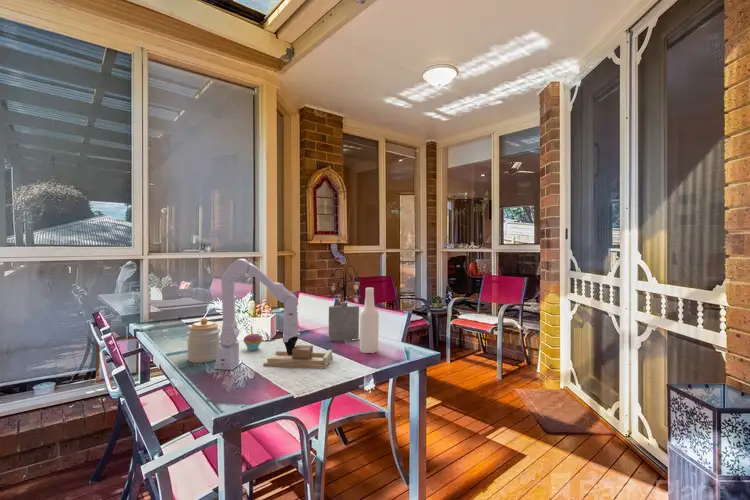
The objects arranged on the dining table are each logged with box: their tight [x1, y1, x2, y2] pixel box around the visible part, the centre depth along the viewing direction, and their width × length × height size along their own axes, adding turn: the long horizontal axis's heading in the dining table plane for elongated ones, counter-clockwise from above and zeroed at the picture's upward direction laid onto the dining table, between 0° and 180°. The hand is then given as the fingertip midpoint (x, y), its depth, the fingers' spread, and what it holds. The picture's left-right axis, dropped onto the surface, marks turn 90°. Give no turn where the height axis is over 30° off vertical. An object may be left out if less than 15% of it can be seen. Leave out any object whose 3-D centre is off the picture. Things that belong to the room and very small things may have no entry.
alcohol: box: [359, 286, 380, 355], centre depth 174 cm, size 9×9×30 cm
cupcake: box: [243, 325, 263, 352], centre depth 174 cm, size 9×8×12 cm
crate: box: [292, 344, 314, 360], centre depth 157 cm, size 7×7×5 cm
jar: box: [186, 317, 221, 364], centre depth 160 cm, size 13×13×18 cm
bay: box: [262, 349, 333, 369], centre depth 157 cm, size 14×26×4 cm, turn 85°
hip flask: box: [328, 301, 360, 342], centre depth 193 cm, size 16×4×20 cm, turn 103°
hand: (290, 354), depth 158 cm, fingers closed, pressing on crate
